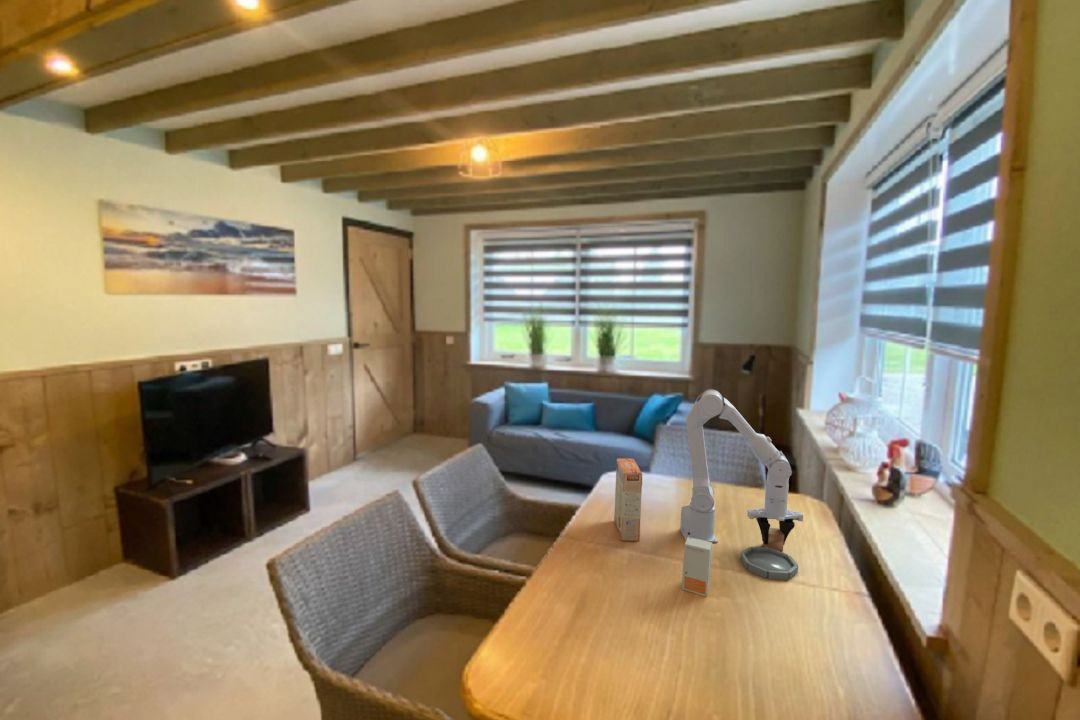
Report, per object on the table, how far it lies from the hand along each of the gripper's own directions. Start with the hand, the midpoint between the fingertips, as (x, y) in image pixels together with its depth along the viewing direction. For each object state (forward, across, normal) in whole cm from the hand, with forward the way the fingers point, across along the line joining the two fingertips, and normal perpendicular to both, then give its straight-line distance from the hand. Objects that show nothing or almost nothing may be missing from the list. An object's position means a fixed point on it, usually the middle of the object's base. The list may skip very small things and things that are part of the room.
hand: (773, 543), depth 136 cm
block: (+1, 0, 0) cm, 1 cm away
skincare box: (+2, -27, -23) cm, 36 cm away
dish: (+1, -5, -10) cm, 11 cm away
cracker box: (+2, -41, +6) cm, 41 cm away
